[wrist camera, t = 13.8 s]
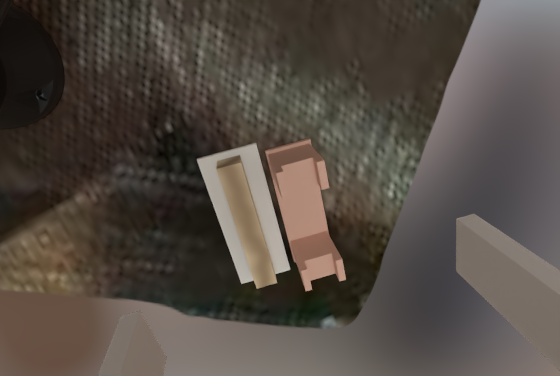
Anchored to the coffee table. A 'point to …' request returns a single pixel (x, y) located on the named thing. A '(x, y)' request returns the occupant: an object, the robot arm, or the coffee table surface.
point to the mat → (262, 205)
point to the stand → (304, 209)
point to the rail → (246, 220)
